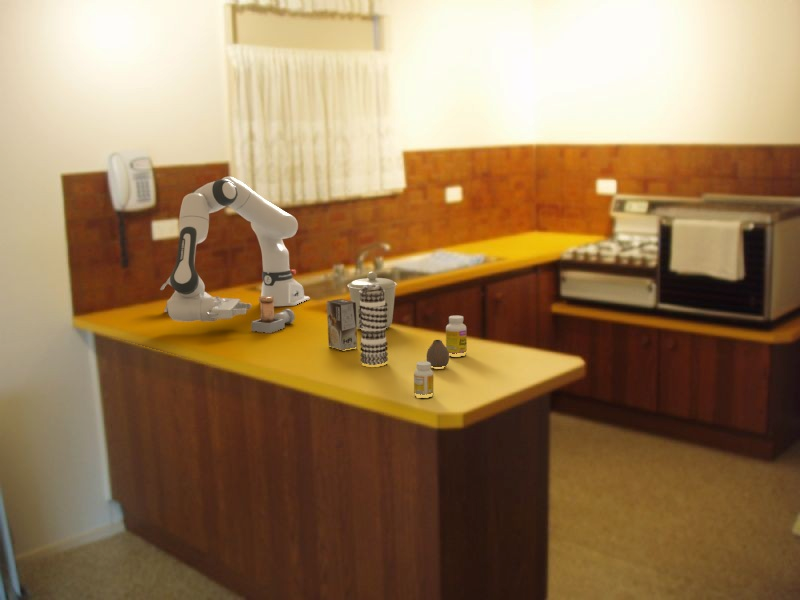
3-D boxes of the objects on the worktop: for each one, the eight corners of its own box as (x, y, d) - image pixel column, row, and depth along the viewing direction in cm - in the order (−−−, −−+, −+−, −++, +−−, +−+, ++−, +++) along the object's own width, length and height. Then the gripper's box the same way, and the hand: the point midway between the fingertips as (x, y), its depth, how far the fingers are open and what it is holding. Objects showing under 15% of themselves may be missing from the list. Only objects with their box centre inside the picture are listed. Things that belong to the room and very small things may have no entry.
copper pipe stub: (263, 327, 350) (262, 295, 347) (278, 328, 348) (276, 296, 346) (258, 331, 344) (256, 298, 342) (272, 331, 343) (271, 299, 341)
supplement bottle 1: (416, 400, 256) (415, 366, 255) (412, 394, 262) (411, 361, 260) (435, 398, 257) (435, 364, 255) (431, 393, 262) (430, 360, 261)
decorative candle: (391, 366, 291) (389, 287, 286) (362, 369, 289) (360, 289, 284) (386, 359, 300) (384, 282, 295) (357, 361, 298) (355, 284, 293)
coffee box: (358, 349, 314) (357, 302, 311) (342, 352, 311) (341, 304, 308) (343, 344, 322) (341, 298, 319) (327, 347, 318) (325, 300, 315)
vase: (425, 365, 292) (425, 338, 290) (447, 364, 292) (447, 337, 290) (428, 371, 285) (427, 343, 283) (450, 370, 285) (450, 342, 284)
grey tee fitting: (280, 322, 359) (279, 307, 358) (298, 324, 355) (297, 309, 353) (251, 331, 345) (250, 316, 344) (270, 333, 340) (269, 318, 339)
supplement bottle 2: (460, 359, 298) (460, 319, 296) (442, 356, 302) (441, 317, 299) (470, 354, 304) (470, 315, 302) (452, 352, 307) (452, 314, 305)
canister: (404, 324, 350) (403, 268, 346) (388, 335, 334) (386, 276, 330) (359, 322, 356) (357, 267, 352) (341, 332, 339) (339, 275, 335)
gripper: (204, 306, 334) (243, 305, 334) (216, 295, 354) (252, 295, 354) (205, 323, 335) (244, 322, 335) (217, 312, 355) (253, 311, 355)
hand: (248, 308), depth 345 cm, fingers open, 8 cm apart
